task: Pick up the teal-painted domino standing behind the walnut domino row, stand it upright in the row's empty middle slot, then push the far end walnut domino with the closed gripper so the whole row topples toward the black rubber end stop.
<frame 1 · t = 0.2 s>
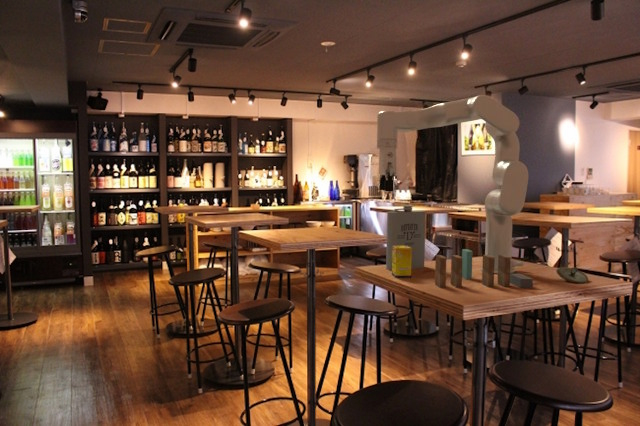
hand: (386, 190, 197), 31 cm above the table, fingers open, 9 cm apart
flask: (406, 268, 209), on the table
end stop: (520, 284, 179), on the table
lid: (572, 281, 187), on the table
tile 1: (440, 286, 177), on the table
tile 4: (487, 285, 178), on the table
supplement box: (401, 276, 193), on the table
tile 5: (503, 285, 179), on the table
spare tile: (466, 277, 191), on the table
tile 2: (456, 285, 177), on the table
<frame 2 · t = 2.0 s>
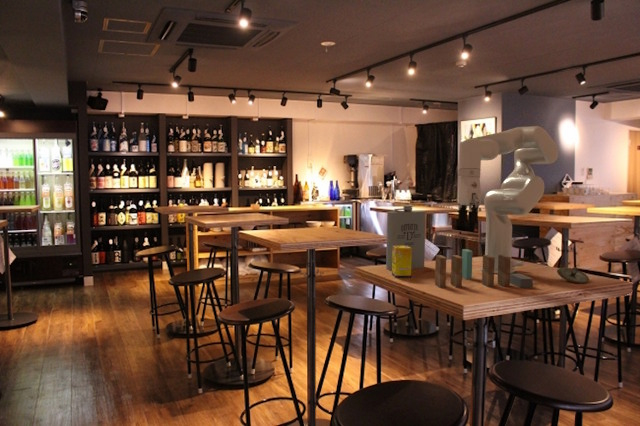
hand: (467, 221, 189), 20 cm above the table, fingers open, 9 cm apart
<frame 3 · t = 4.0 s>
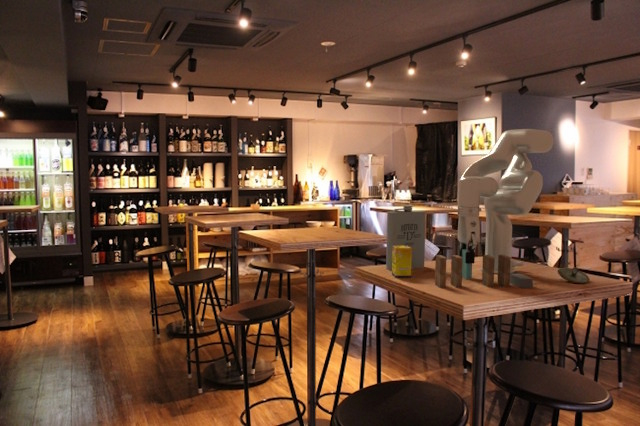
hand: (466, 261, 190), 6 cm above the table, fingers closed on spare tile, 4 cm apart
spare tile: (466, 277, 191), on the table, touching gripper
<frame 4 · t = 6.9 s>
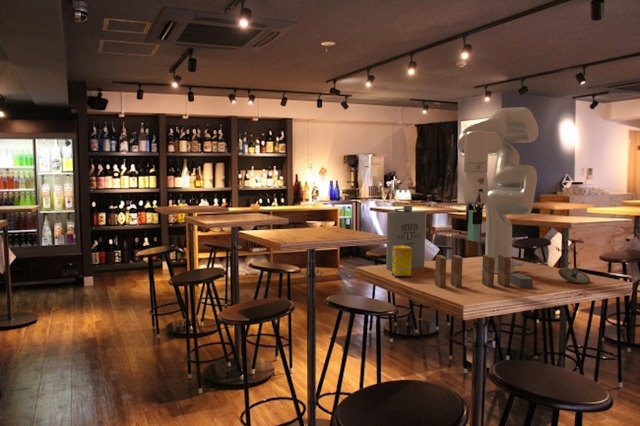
hand: (473, 222, 176), 21 cm above the table, fingers closed on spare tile, 4 cm apart
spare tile: (473, 240, 176), point 15 cm above the table, touching gripper
when the fingers open (7 cm above the table, at t = 9.9 s): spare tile stays where it is, on the table.
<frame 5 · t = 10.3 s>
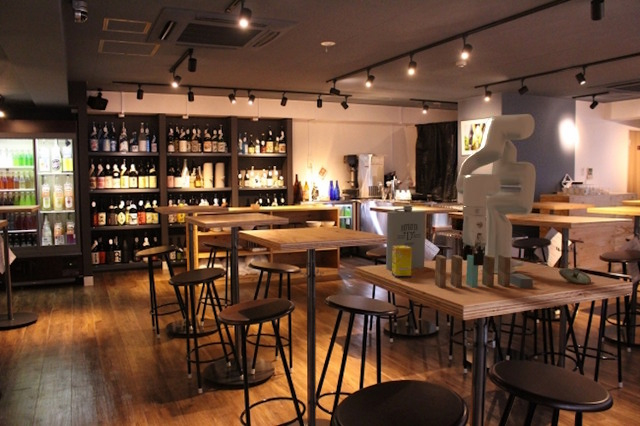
hand: (472, 262, 177), 8 cm above the table, fingers open, 9 cm apart
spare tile: (471, 285, 178), on the table
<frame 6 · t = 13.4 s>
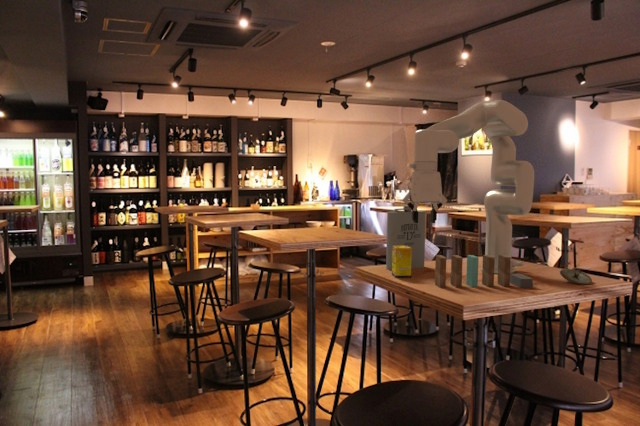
hand: (424, 222, 174), 21 cm above the table, fingers open, 5 cm apart
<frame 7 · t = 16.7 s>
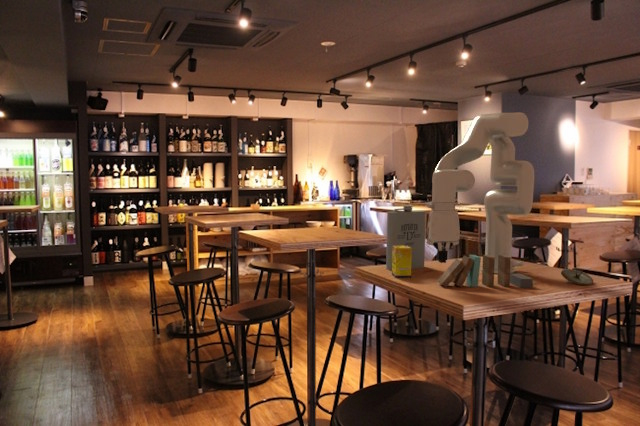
hand: (442, 262, 176), 8 cm above the table, fingers closed
tile 1: (441, 284, 177), point 1 cm above the table, tilted 41°, touching tile 2
tile 2: (456, 284, 177), on the table, tilted 24°, touching tile 1
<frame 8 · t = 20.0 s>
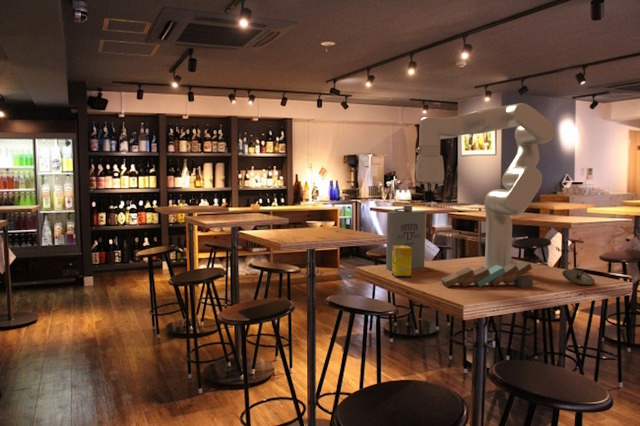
hand: (428, 201, 193), 27 cm above the table, fingers closed
tile 1: (443, 283, 177), point 1 cm above the table, tilted 67°, touching tile 2
tile 4: (490, 282, 178), point 1 cm above the table, tilted 57°, touching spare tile, tile 5
tile 5: (503, 280, 179), point 1 cm above the table, tilted 57°, touching end stop, tile 4
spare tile: (475, 282, 178), point 1 cm above the table, tilted 61°, touching tile 2, tile 4
tile 2: (459, 283, 177), point 1 cm above the table, tilted 65°, touching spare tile, tile 1
at the end: tile 5 tilted 57°; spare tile tilted 61°; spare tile inside the target area (1.8 cm from its centre), point 0.9 cm above the table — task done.
